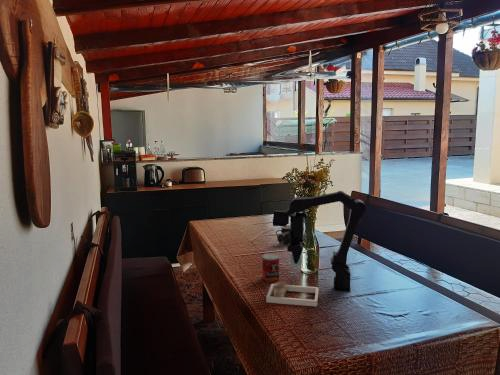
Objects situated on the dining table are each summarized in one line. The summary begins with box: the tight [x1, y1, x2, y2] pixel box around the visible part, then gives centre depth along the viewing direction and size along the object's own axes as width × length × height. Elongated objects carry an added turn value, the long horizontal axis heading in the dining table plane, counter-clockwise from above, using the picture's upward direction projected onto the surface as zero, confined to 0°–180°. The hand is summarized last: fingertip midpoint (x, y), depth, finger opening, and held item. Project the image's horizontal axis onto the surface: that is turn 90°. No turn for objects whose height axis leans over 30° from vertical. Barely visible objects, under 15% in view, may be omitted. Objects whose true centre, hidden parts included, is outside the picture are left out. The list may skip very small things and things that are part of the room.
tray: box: [265, 283, 319, 307], centre depth 169 cm, size 20×14×2 cm
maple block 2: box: [273, 289, 285, 298], centre depth 167 cm, size 4×4×4 cm
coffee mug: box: [275, 224, 291, 246], centre depth 245 cm, size 12×9×10 cm
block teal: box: [290, 252, 303, 267], centre depth 180 cm, size 4×4×4 cm
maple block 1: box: [275, 281, 288, 296], centre depth 173 cm, size 4×4×4 cm
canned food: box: [261, 253, 280, 283], centre depth 188 cm, size 8×8×11 cm
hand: (296, 261), depth 180 cm, fingers closed on block teal, 4 cm apart
